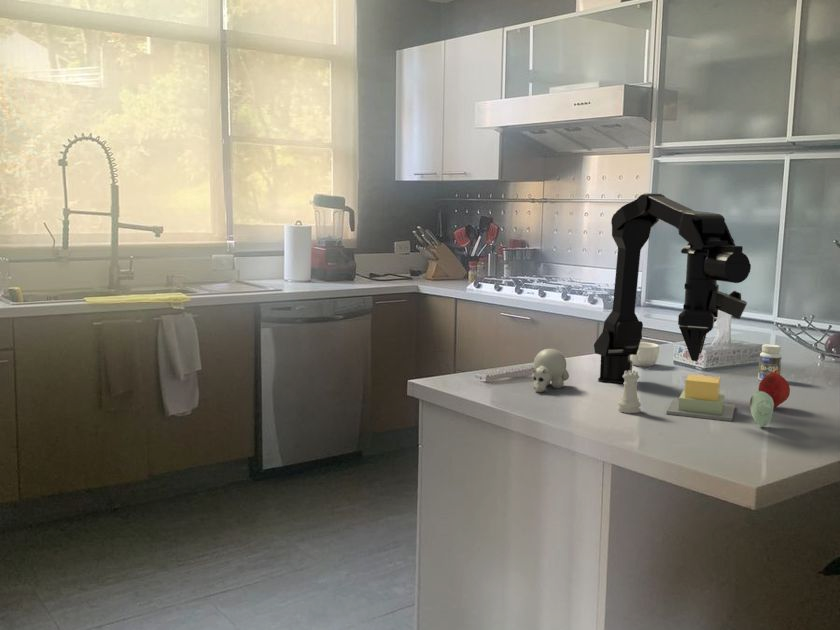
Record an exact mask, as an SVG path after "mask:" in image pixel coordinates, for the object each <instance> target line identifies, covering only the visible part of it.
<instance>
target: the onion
mask: <svg viewBox="0 0 840 630" xmlns="http://www.w3.org/2000/svg"><path fill="white" fill-rule="evenodd" d="M779 372H780V374H779ZM757 390H758V391H762V392H765V393H767V394H768V395H770V396H771V397H772V399H773V402H774V408H773V409H776V408H777V407H779V406H780V405H781V404H783V403H784V402H786V401H787V400H788V398H789V397H790V394H791V388H790V385H789V383H788V381H787V380H786V379H785V377H783V376H782V375H781V370H780V371H779V370H778V369H775V370H774V371H773V372H772V373H771V374H769V375H767V376H766V377H765V378H763V379H762V381H761V380H760V382H759V383H758V389H757Z"/></svg>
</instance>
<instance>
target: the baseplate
mask: <svg viewBox="0 0 840 630" xmlns="http://www.w3.org/2000/svg"><path fill="white" fill-rule="evenodd" d="M725 397H726V394H725V393H720V394H719V397H718V400H717V401H714V400H704V399H695V398H685V389H683V390H682V392H681V394H680V395H679V397H678V398H677V397H673V399H672V401H671V402H670V404H669V406H668V408H667V409H666V415H672V416H673V415H674V416H680V417H690V418H699V419H700V418H701V419H709V420H715V421H716V420H717V421H726V422H733V420H734V419H733V418H734V414H735V409H736V404H735V403H733V404H732V403H725Z"/></svg>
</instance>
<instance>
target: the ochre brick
mask: <svg viewBox="0 0 840 630" xmlns="http://www.w3.org/2000/svg"><path fill="white" fill-rule="evenodd" d="M684 390H685V398H695V399H704V400H714V401H717V400H718V397H719V394H721V392H720V391H721V376H719V377H718V376H709V375H700V374H699V375H698V374H688V376H687V377H686V379H685V388H684Z"/></svg>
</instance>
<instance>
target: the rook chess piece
mask: <svg viewBox="0 0 840 630" xmlns="http://www.w3.org/2000/svg"><path fill="white" fill-rule="evenodd" d="M638 373H639V372H638V371H636V370H632V373H631V370H628V372H627V371H624V375H623V378H624V380H625V381H624V383H622V384H623V392H622V397H620V400H619V401H618V403H617V404H618V407H617V409H618V411H619V412H620V411H621V413H622V412H624V413H623V414H628V413H633V414H632V415H635V414H634V413H636V414H639V413H640V411H642V409H641V408H640V407H641V406H642V405H641V402H640V401H639V398H638V387H637V386H638V385H639V384H638V383H637V382H638V380H639V378H640V376H639V374H638Z"/></svg>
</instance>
